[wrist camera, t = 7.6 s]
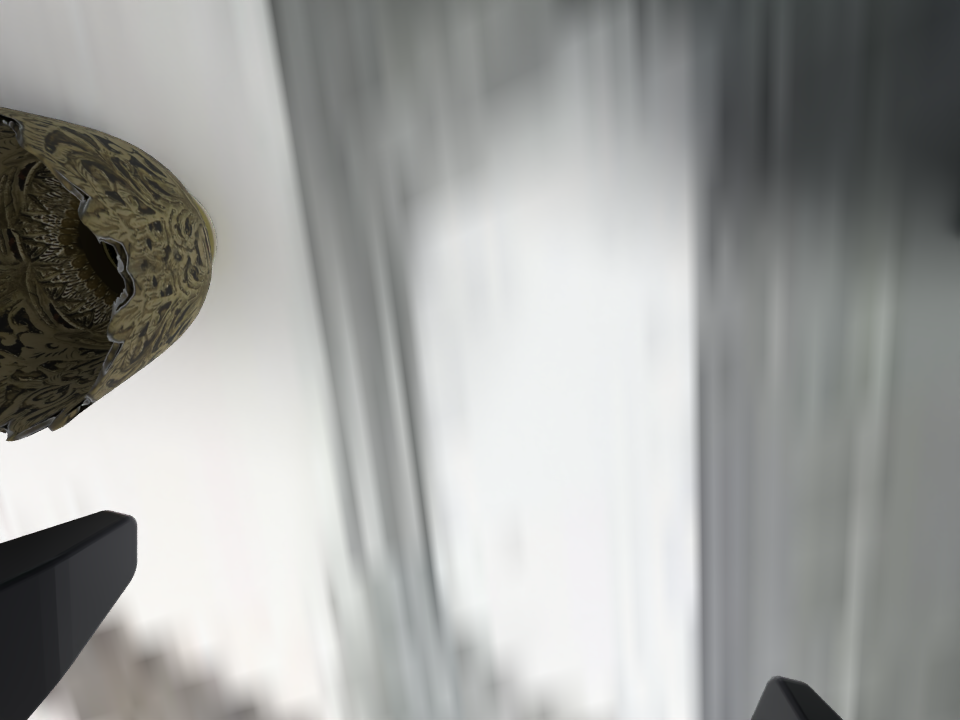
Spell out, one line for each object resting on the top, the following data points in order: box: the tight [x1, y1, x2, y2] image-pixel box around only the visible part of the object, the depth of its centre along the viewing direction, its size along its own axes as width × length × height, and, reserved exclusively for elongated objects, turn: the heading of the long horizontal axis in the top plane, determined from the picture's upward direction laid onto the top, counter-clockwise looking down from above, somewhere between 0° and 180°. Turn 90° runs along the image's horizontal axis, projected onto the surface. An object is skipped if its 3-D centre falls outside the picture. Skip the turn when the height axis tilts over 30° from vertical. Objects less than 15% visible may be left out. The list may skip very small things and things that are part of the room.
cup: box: [0, 107, 217, 441], centre depth 17 cm, size 8×7×8 cm
